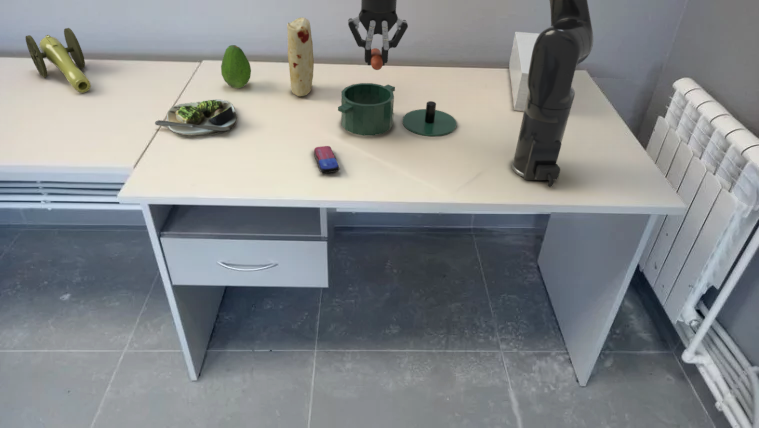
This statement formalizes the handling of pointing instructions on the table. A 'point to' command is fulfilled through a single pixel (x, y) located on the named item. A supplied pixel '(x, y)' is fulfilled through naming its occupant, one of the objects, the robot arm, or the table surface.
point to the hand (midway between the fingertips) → (376, 63)
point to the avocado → (235, 67)
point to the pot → (367, 108)
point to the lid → (429, 121)
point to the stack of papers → (521, 67)
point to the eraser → (326, 159)
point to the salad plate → (200, 117)
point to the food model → (300, 56)
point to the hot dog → (376, 59)
